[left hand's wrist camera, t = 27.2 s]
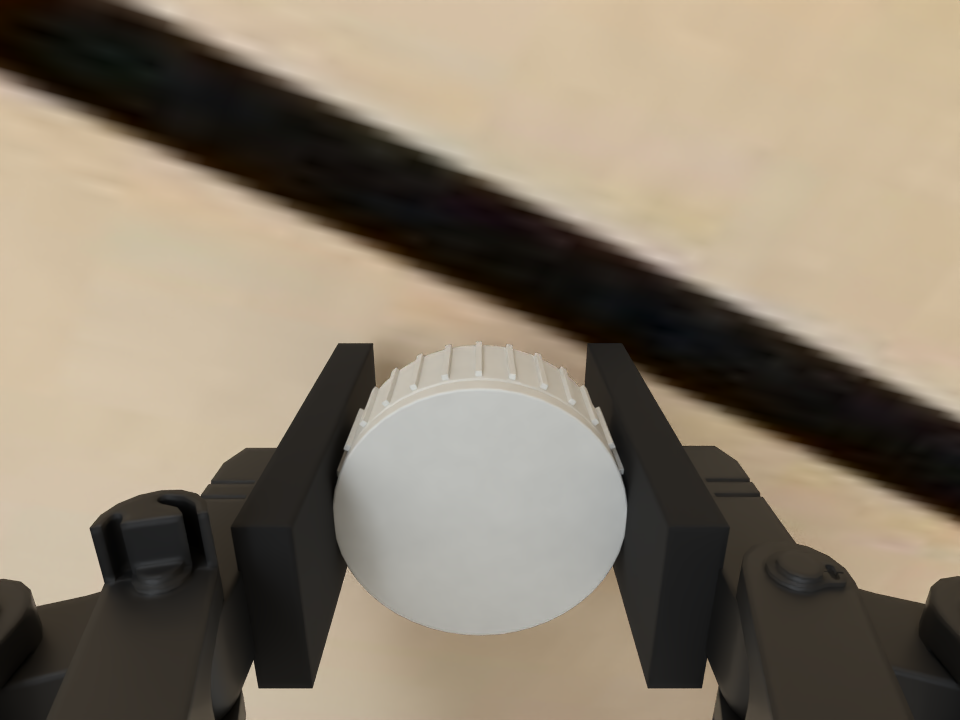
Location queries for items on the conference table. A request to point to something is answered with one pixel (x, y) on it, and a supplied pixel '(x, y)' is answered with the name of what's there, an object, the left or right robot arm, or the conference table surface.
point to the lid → (480, 492)
